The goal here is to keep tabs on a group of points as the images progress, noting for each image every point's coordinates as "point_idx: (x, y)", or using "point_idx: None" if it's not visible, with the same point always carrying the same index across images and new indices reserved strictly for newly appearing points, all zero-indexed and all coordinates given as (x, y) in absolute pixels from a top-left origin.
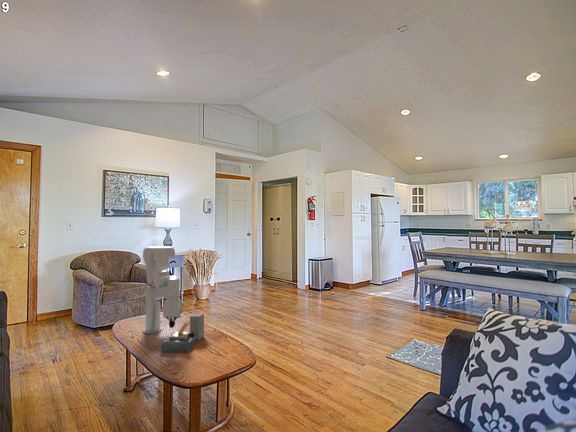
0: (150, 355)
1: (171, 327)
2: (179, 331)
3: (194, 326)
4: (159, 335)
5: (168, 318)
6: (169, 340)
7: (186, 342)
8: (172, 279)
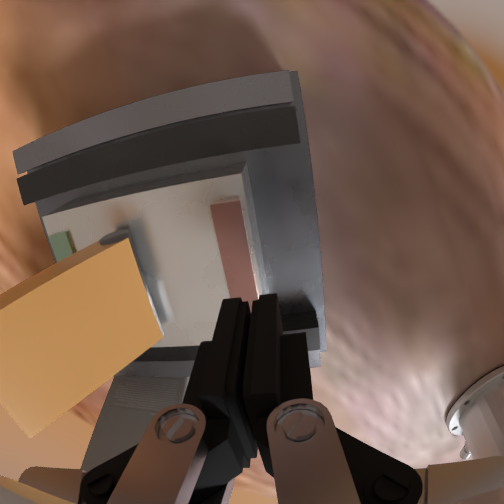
0: (338, 7)
1: (235, 298)
2: (90, 256)
3: (127, 433)
4: (444, 369)
5: (338, 472)
6: (204, 120)
7: (18, 150)
8: None
